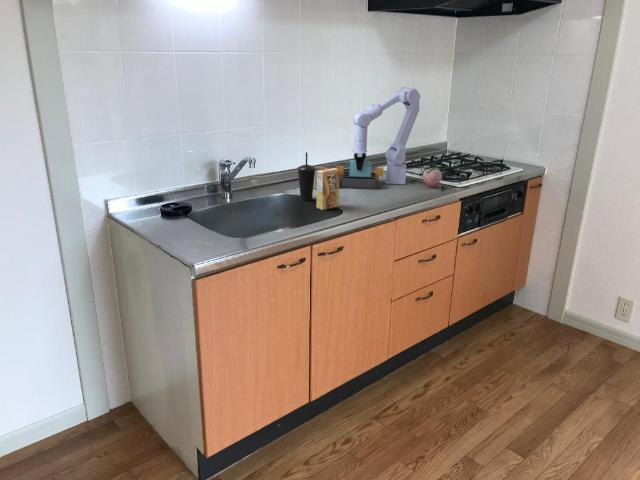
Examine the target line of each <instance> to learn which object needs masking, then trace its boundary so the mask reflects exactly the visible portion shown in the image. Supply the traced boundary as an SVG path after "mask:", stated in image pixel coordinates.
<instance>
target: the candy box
mask: <svg viewBox="0 0 640 480" xmlns="http://www.w3.org/2000/svg"><path fill="white" fill-rule="evenodd" d="M340 189H341V188H340V170H338V169H336V167H335V168H334V167H333V168H327V169H326V170H320V171H317V189H316V208H317V209H319V210H321V211H324V210H328V209H333V208H337V207H339V206H340Z"/></svg>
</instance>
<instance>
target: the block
mask: <svg viewBox="0 0 640 480" xmlns="http://www.w3.org/2000/svg"><path fill="white" fill-rule="evenodd" d="M372 163H373V161H372V160H364V162H363V167H362V170H357V167H356V161H355V159H354V160H349V171H350V172H349V176H361V177H371V172H372Z"/></svg>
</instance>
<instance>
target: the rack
mask: <svg viewBox="0 0 640 480" xmlns="http://www.w3.org/2000/svg"><path fill="white" fill-rule="evenodd" d="M335 169H338V170H340V188H339V189H344V190H345V189H352V190H373V191H374V190H375V191H378V190H379V184H380V182H379V181H380V180H379V177H384V167H375V171H374V172H373V171H371V177H361V176H349V172H350V170H348V171H346V170H344V165H335Z"/></svg>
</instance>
